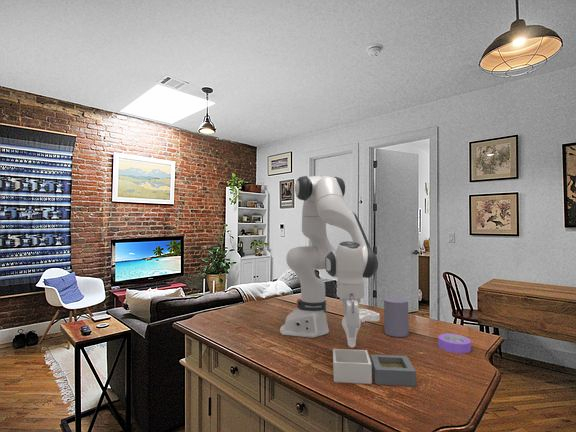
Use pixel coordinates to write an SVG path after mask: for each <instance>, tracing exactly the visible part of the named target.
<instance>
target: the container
mask: <svg viewBox="0 0 576 432" xmlns="http://www.w3.org/2000/svg"><path fill="white" fill-rule="evenodd" d="M383 314H384V315H383V319H384V320H383V323H384V324H383V327H384V328H383V329H384V332H383V333H384V334H385V335H387V336H389V337H393V338H404V337H408V336H409V334H410V333H409V327H410V326H409V300H408V299H406V298H404V297H403V298H401V297H385V298H384V299H383Z"/></svg>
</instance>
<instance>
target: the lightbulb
mask: <svg viewBox="0 0 576 432" xmlns="http://www.w3.org/2000/svg"><path fill="white" fill-rule="evenodd" d="M361 324H362V322H361V321H360V319H359V328H355V337H354V338H350V337H349V328H348V327H347V323H346V318H345V315H343V317H342V319H341V326H342V328H343V330H344V331H345V335H346V340H347V345H348V347H349V348H351V349H352V348H355V347H356V342H357V336H358V333H359V330H360V328H361Z"/></svg>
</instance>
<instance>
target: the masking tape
mask: <svg viewBox="0 0 576 432" xmlns="http://www.w3.org/2000/svg"><path fill="white" fill-rule="evenodd" d="M437 338H438V339H437V340H438V341H437V342H438V343H437V344H438V348H440V349H441V350H443V351H444V352H450V353H453V354H468V353H470V352H472V340H471V339H470V338H468V337H466V336H463V335H461V334H455V333H442V334H440V335H438V337H437Z"/></svg>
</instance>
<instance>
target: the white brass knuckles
mask: <svg viewBox="0 0 576 432" xmlns="http://www.w3.org/2000/svg"><path fill="white" fill-rule="evenodd" d="M380 316H381V314H380V313H379V312H376V311H374V310H370V309H367V308H359V319H360V322H361V323H366V322H379V321H380V320H381V319H380V318H381V317H380ZM365 321H366V322H365Z"/></svg>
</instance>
